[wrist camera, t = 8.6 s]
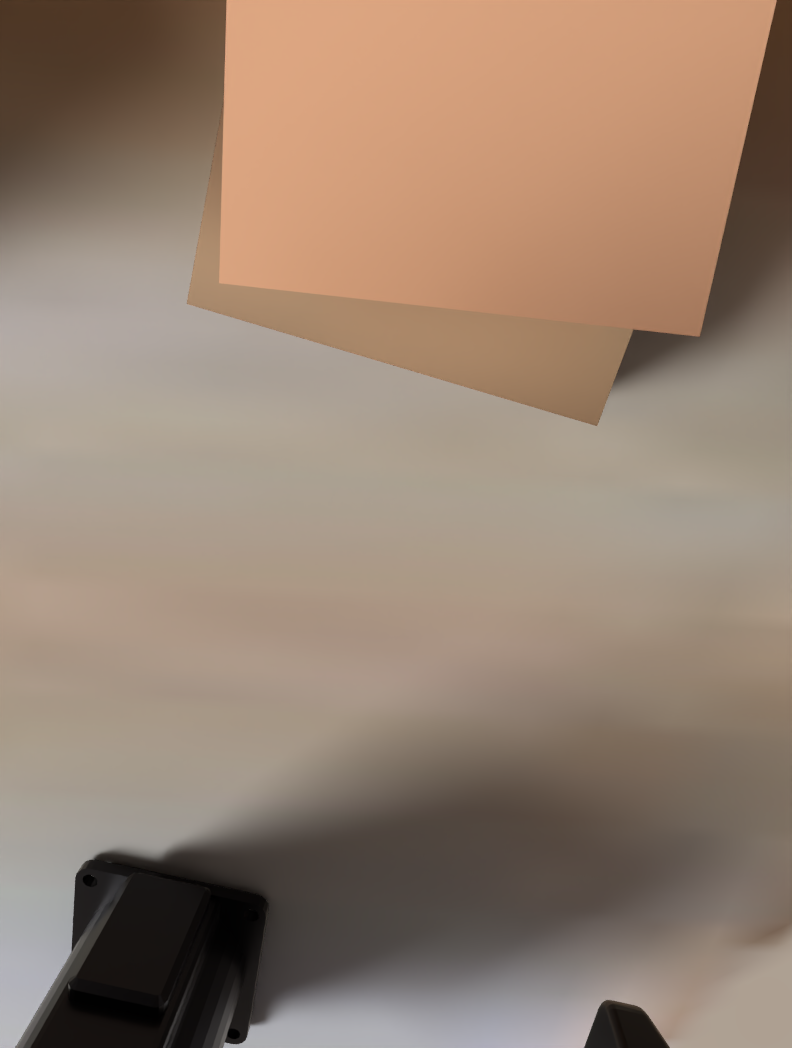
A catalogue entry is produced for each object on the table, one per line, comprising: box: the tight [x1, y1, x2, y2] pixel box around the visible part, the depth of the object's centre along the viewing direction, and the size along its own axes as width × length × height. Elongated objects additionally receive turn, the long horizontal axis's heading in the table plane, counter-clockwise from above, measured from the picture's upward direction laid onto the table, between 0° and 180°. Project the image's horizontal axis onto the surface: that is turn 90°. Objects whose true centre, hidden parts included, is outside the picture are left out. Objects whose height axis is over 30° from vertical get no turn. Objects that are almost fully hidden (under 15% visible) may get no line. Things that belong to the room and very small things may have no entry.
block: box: [187, 101, 633, 426], centre depth 16 cm, size 9×9×4 cm
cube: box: [219, 0, 777, 337], centre depth 11 cm, size 6×6×6 cm
